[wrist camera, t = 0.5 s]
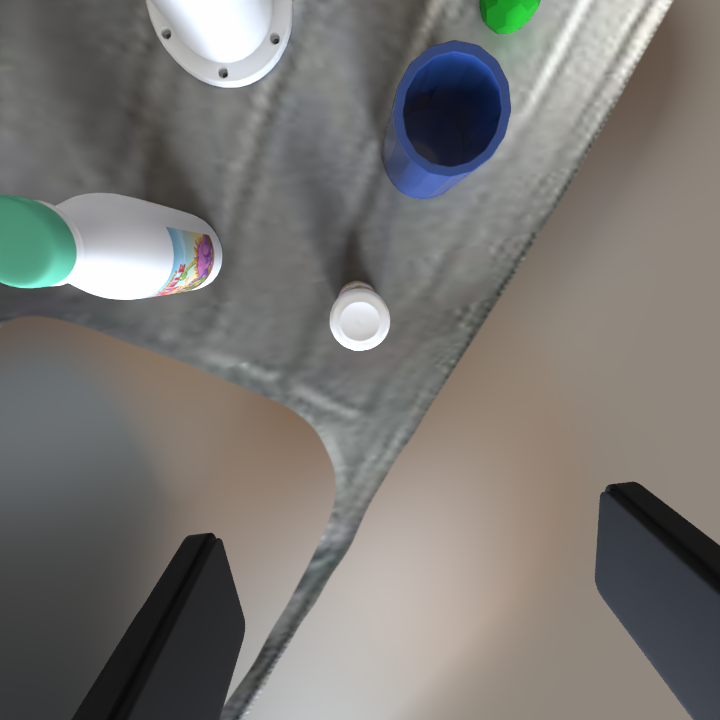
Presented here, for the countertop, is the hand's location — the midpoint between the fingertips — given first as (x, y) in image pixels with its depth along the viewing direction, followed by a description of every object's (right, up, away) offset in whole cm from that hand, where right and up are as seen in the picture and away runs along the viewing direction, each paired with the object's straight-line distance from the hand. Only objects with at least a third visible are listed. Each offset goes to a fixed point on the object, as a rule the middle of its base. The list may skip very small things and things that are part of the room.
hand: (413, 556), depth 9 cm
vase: (+5, +25, +26) cm, 37 cm away
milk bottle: (-19, +16, +28) cm, 38 cm away
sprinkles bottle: (-2, +11, +30) cm, 32 cm away
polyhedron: (+11, +37, +23) cm, 45 cm away
